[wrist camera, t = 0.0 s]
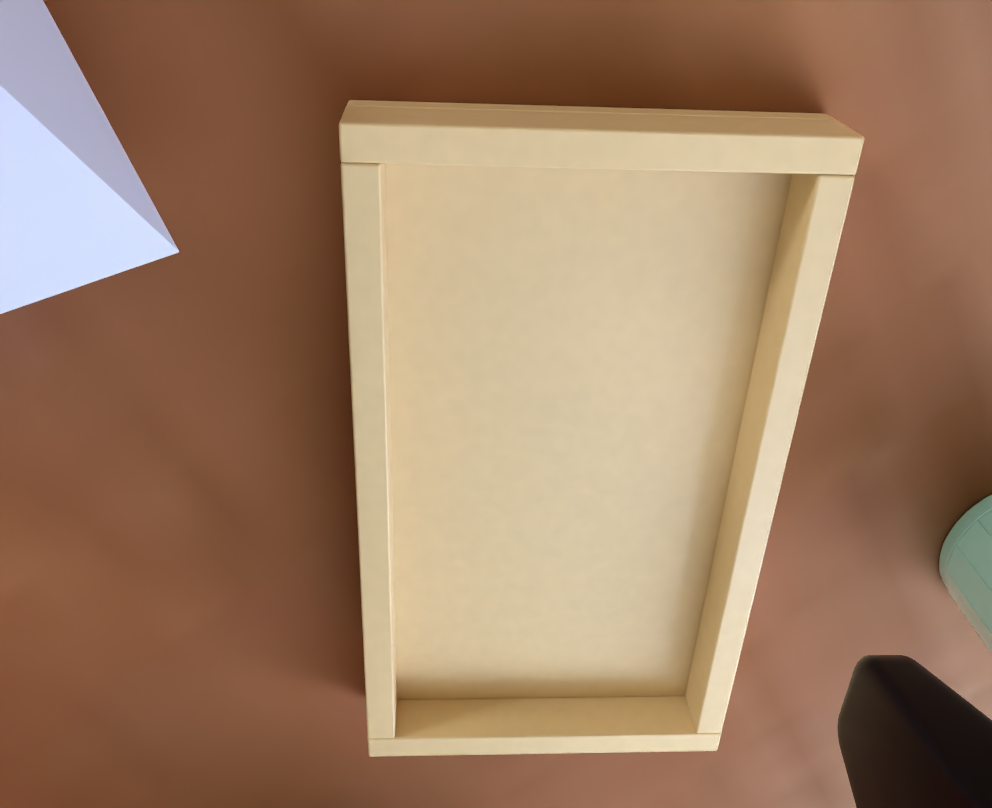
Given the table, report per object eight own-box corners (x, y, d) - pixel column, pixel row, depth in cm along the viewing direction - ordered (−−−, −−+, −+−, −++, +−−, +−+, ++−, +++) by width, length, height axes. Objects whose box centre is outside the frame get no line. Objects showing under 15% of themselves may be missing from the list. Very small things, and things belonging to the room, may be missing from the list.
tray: (700, 697, 30) (717, 751, 28) (373, 701, 29) (368, 757, 27) (828, 113, 20) (866, 136, 18) (347, 99, 20) (338, 122, 18)
